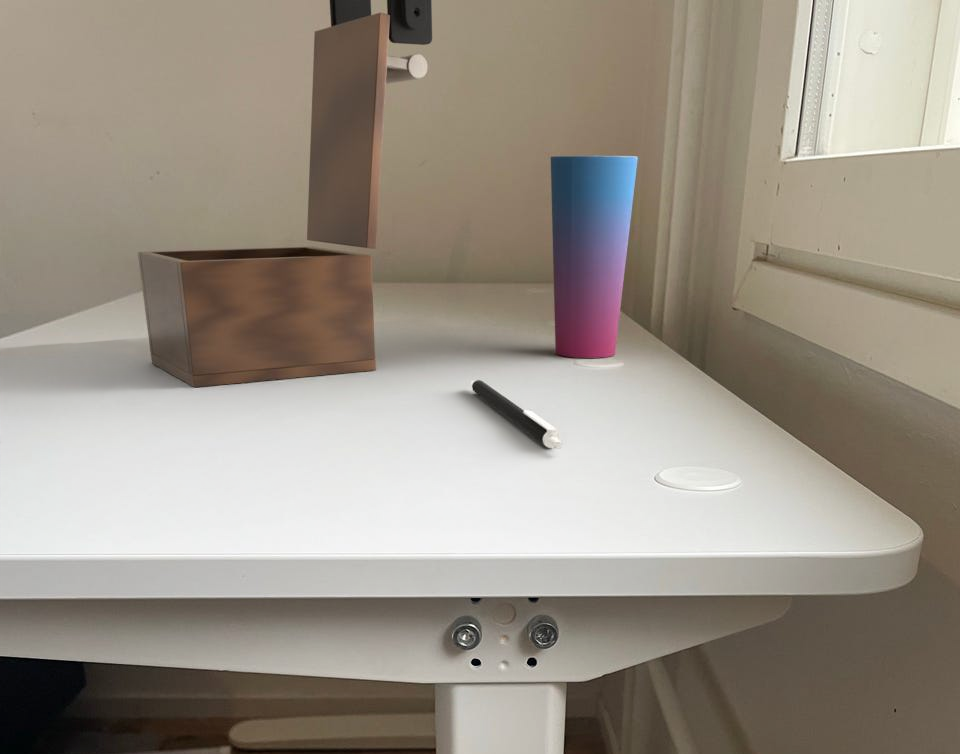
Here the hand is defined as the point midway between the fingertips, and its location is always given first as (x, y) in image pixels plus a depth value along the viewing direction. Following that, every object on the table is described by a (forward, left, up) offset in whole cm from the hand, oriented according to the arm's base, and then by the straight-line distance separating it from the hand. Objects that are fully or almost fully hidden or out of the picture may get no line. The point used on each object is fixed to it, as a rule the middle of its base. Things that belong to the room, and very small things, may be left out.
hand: (380, 50), depth 75 cm
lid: (-3, -2, -6) cm, 7 cm away
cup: (+16, +5, -22) cm, 28 cm away
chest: (-8, -7, -22) cm, 25 cm away
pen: (+14, -21, -22) cm, 34 cm away
